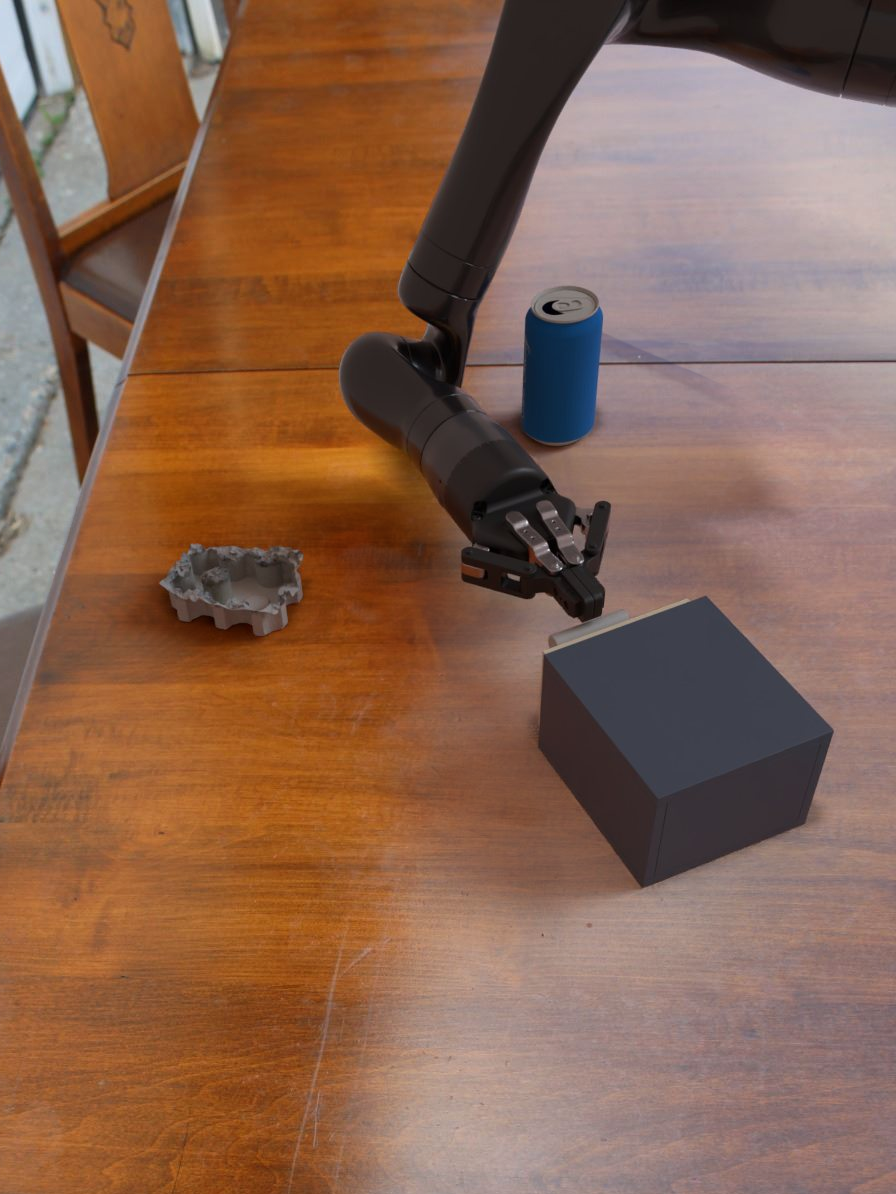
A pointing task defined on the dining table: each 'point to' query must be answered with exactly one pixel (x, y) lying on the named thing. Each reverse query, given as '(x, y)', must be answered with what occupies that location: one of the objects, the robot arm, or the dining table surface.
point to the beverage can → (561, 364)
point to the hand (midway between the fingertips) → (593, 610)
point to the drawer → (594, 631)
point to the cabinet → (680, 739)
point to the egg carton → (236, 585)
